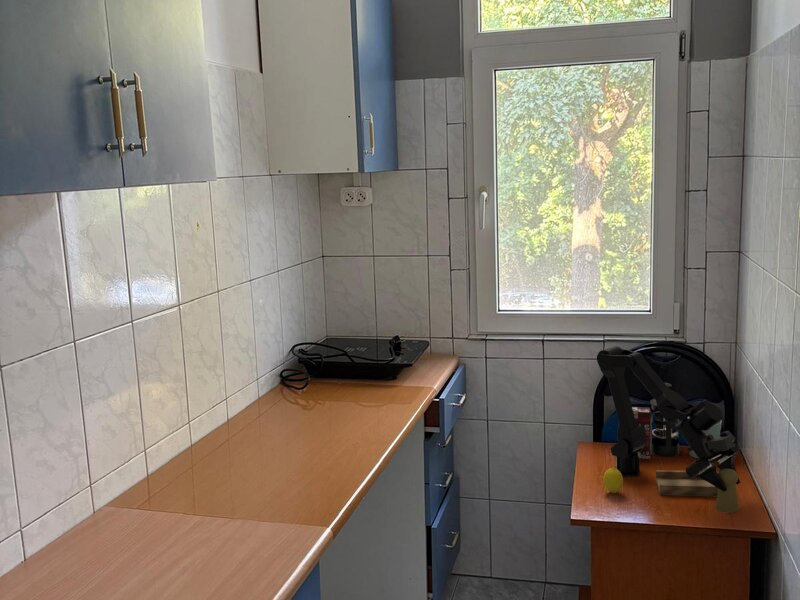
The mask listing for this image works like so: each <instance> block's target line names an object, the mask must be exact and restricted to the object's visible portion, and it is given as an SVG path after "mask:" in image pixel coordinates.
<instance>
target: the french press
mask: <svg viewBox="0 0 800 600" xmlns="http://www.w3.org/2000/svg"><path fill="white" fill-rule="evenodd" d="M664 383H665V384H666V386H667V387H668V388H670V387H672V384H671V383H668V382H664ZM649 402H650V405H651V409H652V411H654V412H651V434H650V454H652V455H653V456H656V457H662V458H670V457H671V458H672V457H676V456H678V455H680V452H681V451H680V432H679V431H678V432H676V433H674V434H673V433H672V428H673V425H672V424H674V423H676V422H678V423H679V422H680V420H677V421H674V422H671V421H667V420H665V419H664V417H663V416H662V414H661V413H660V411H659V410H658V408H657V404H656V400H655V398H653V399H651V400H650V401H649ZM654 418H655V419H654ZM653 424H655V428H653Z"/></svg>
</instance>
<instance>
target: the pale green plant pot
mask: <svg viewBox="0 0 800 600" xmlns="http://www.w3.org/2000/svg"><path fill="white" fill-rule="evenodd" d="M687 419H690V417H687ZM722 423H723V419H722V420H721V421H719V422H718V423H717V424H715V425H714V426H713V427H711V428H710V429H709V430H707V431H704V432H705V433H706V434H707V436H708V435H710V434H711V435H712V436H713V437H714V438H718V437H721V429H722ZM689 447H690V446H689V445H688V448H689ZM688 454H689V456H691V457H692V458H694V457H695V458H694V459H696V458H698V457H697V456H696V454H695V453H694V452H693V450H692V451H690V452H689V451H688ZM713 458H714V457H713Z"/></svg>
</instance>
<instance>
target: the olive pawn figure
mask: <svg viewBox="0 0 800 600" xmlns="http://www.w3.org/2000/svg"><path fill="white" fill-rule="evenodd" d="M736 471H737V470H736ZM736 471H734V470H732V469H722V470H720V469H719V471H717V472H718V475H719V477H720V478H721V480H722V481H723V483H724V484H725V486H726V488H727V491H725V492H724V491H722V490H720V489H719V488H718V494H717V497H716V500H715V506H716V507H715V509H716V510H717V511H719V512H721V513H727V514H734V513H737V512H739V510H740V506H739V499H738V498H739V497H738V491H737V484H736V482H737V481H738V477H739V475H738V471H737V472H736Z"/></svg>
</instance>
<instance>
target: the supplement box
mask: <svg viewBox="0 0 800 600" xmlns="http://www.w3.org/2000/svg"><path fill="white" fill-rule="evenodd" d="M632 409H633V413H634V417H635V420H636V422H637V423H638V424H639V425H640V426H641V425H644V427H645V432H646V435H647V437H648V438H646V440H647V443H646V444H645V446H644V447H643V448H642V451H641V452H638V453H637V454H638V456H639V459H648V458H649V459H651V453H650V434H651V414H652V411H651V407H639V406H637V407H636V406H632ZM649 459H648V460H649Z"/></svg>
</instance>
